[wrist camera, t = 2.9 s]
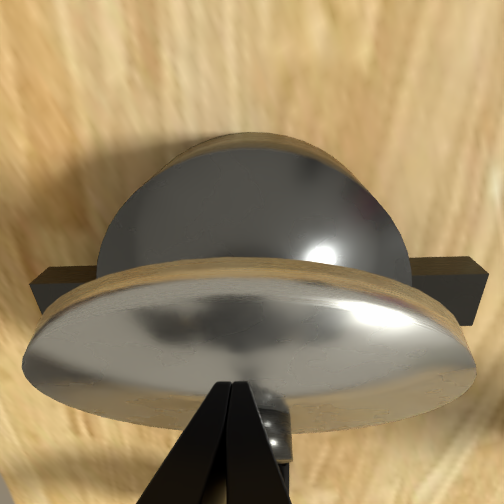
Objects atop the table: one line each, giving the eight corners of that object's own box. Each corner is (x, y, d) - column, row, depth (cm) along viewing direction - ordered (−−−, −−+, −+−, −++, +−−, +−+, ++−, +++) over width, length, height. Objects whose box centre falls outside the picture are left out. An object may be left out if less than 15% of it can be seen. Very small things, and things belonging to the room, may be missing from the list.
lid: (391, 413, 20) (404, 471, 19) (130, 413, 21) (118, 468, 19) (591, 247, 7) (700, 387, 6) (-100, 265, 8) (-201, 391, 6)
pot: (410, 371, 26) (441, 432, 21) (117, 373, 27) (87, 431, 22) (469, 122, 17) (539, 136, 13) (41, 142, 19) (-29, 161, 14)
